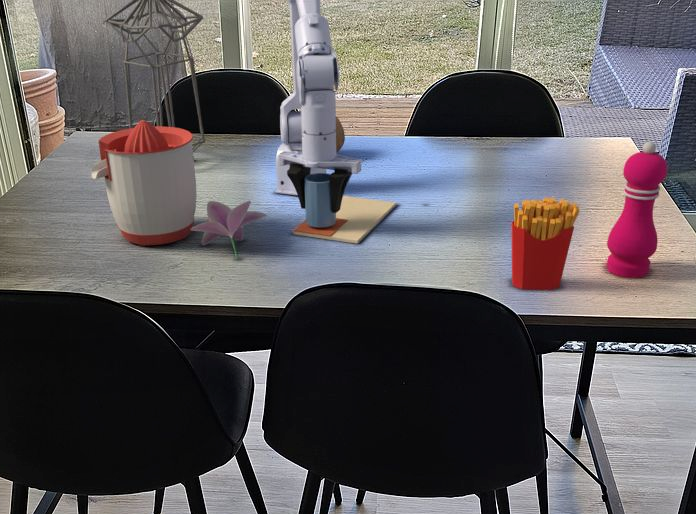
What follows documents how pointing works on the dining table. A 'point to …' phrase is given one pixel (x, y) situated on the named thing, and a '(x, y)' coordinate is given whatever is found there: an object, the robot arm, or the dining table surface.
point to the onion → (339, 135)
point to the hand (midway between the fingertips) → (320, 208)
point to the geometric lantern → (141, 6)
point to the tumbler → (318, 200)
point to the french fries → (541, 242)
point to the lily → (226, 222)
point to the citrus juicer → (149, 182)
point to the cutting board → (350, 220)
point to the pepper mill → (637, 215)
